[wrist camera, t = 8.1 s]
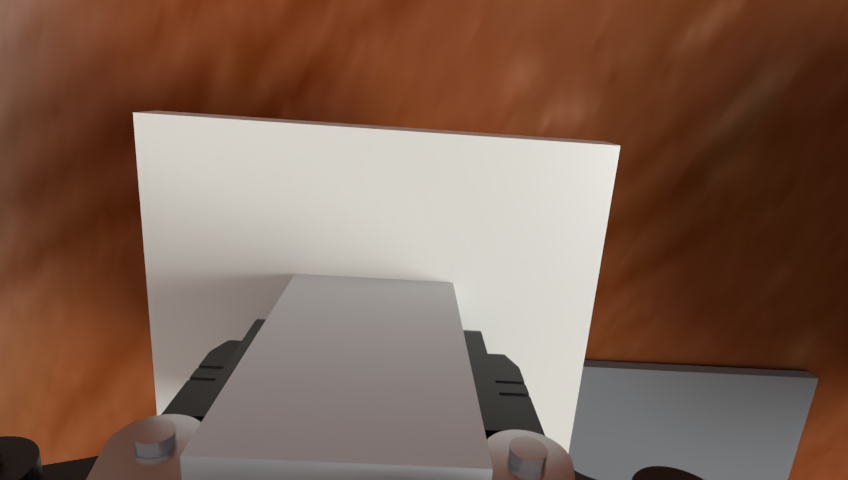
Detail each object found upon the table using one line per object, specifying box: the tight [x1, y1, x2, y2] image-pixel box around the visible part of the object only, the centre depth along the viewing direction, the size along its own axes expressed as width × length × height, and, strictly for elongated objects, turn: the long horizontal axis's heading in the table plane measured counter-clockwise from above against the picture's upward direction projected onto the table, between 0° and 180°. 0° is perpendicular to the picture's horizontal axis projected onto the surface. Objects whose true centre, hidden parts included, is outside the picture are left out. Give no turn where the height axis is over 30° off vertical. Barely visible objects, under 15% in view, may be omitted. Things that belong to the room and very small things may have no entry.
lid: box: [133, 111, 620, 480], centre depth 10 cm, size 10×10×7 cm
